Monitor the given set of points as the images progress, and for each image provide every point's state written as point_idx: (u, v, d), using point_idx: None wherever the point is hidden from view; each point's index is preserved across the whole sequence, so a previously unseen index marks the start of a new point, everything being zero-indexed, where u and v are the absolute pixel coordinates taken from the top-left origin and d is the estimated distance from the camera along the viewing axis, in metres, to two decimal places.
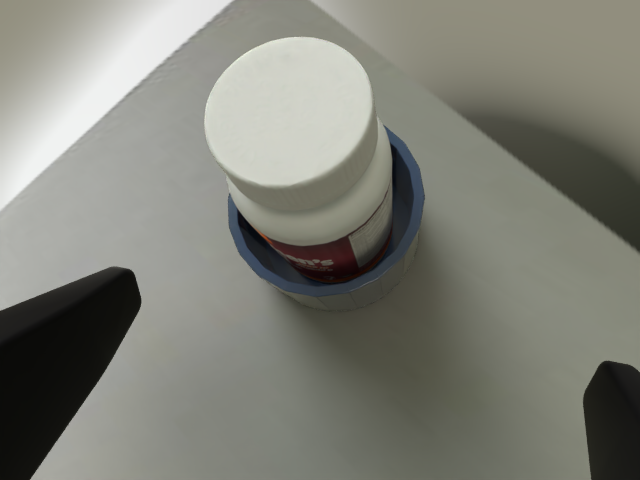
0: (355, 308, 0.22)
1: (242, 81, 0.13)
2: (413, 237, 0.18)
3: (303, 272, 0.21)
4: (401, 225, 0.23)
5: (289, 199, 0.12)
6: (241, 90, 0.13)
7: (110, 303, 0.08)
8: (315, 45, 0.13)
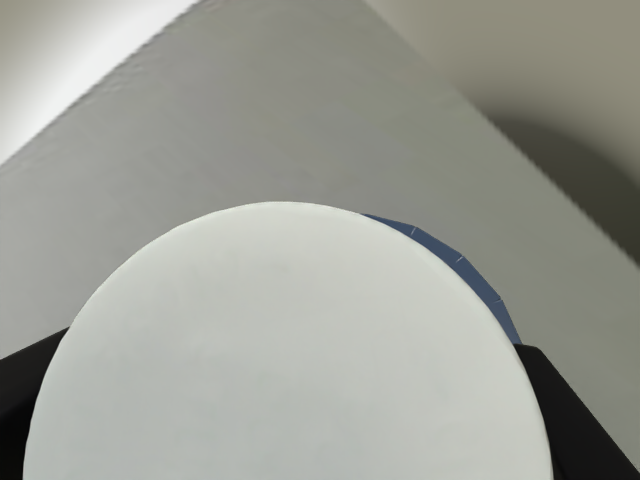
0: None
1: (145, 332, 0.04)
2: None
3: None
4: None
5: None
6: (139, 362, 0.04)
7: None
8: (369, 247, 0.04)
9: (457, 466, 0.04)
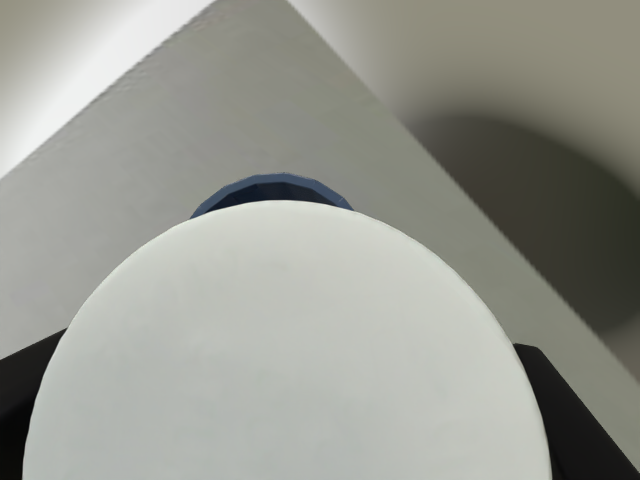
0: None
1: (143, 332, 0.04)
2: None
3: None
4: None
5: None
6: (138, 362, 0.04)
7: None
8: (368, 246, 0.04)
9: (455, 464, 0.04)
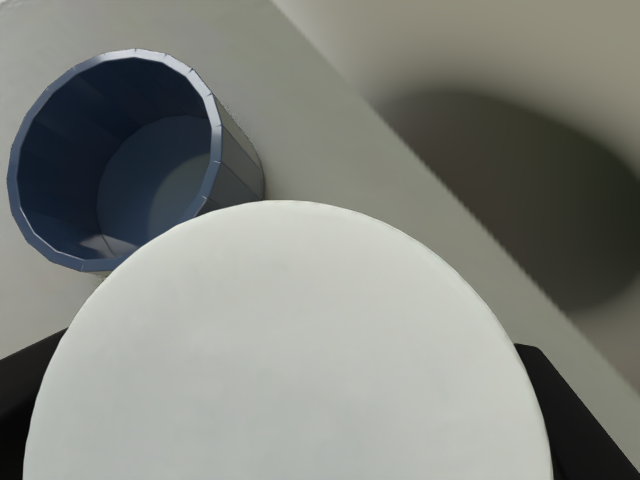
0: None
1: (145, 331, 0.04)
2: (199, 210, 0.15)
3: None
4: None
5: None
6: (139, 362, 0.04)
7: None
8: (369, 246, 0.04)
9: (457, 465, 0.04)
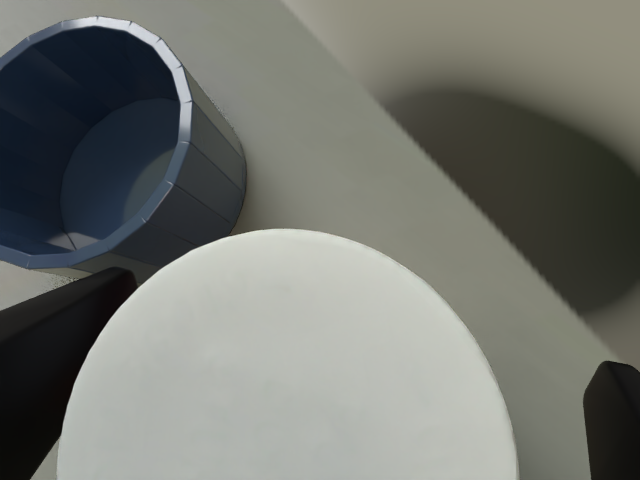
0: None
1: (163, 345, 0.05)
2: (164, 198, 0.13)
3: None
4: None
5: None
6: (159, 372, 0.05)
7: (110, 303, 0.08)
8: (362, 271, 0.05)
9: (436, 464, 0.04)
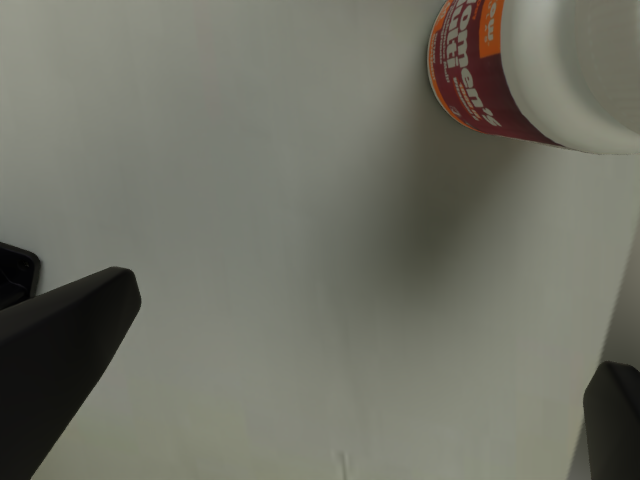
0: None
1: None
2: None
3: (439, 80, 0.16)
4: None
5: (629, 102, 0.08)
6: None
7: (110, 303, 0.08)
8: None
9: None
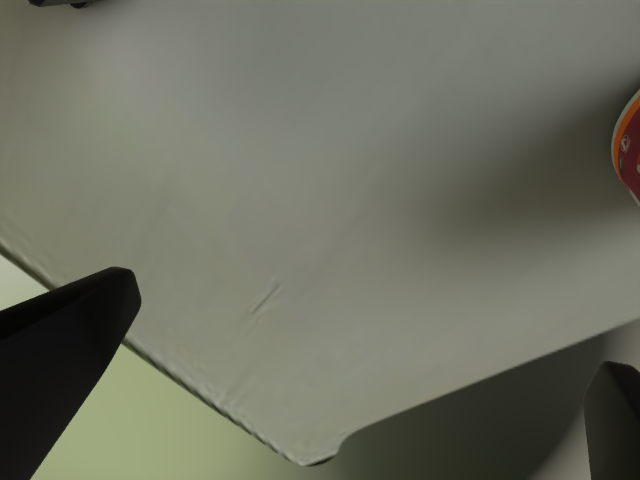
0: None
1: None
2: None
3: None
4: None
5: None
6: None
7: (110, 303, 0.08)
8: None
9: None
